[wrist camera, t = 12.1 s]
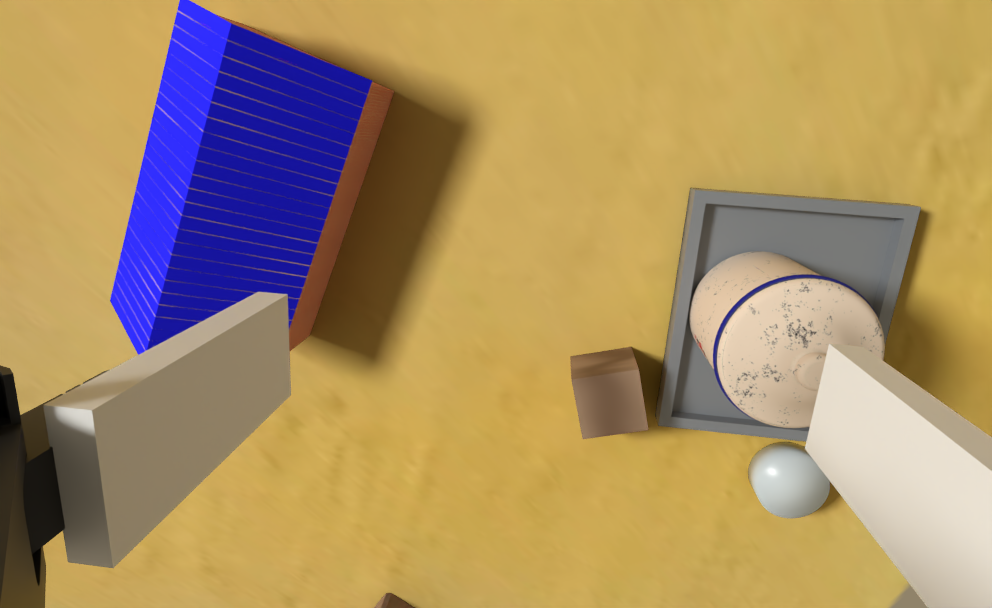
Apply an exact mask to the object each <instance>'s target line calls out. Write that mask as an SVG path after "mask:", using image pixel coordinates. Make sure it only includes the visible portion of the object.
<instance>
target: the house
mask: <svg viewBox="0 0 992 608" xmlns="http://www.w3.org/2000/svg"><path fill="white" fill-rule="evenodd" d="M393 94H394V91H393V90H390V89H388V88H386V87H384V86H381V85H379V84H377V83H375V82H372V80H369V79H367V78H365V77H362V76H360V75H357V74H355V73H352V72H350V71H348V70H345V69H343V68H341V67H338V66H336V65H334V64H332V63H329V62H327V61H325V60H323V59H320V58H318V57H316V56H314V55H311V54H309V53H307V52H305V51H302V50H300V49H298V48H296V47H293V46H291V45H289V44H286V43H284V42H282V41H280V40H277V39H275V38H273V37H271V36H268V35H266V34H264V33H262V32H259V31H257V30H255V29H253V28H250V27H248V26H246V25H244V24H241V23H238V22H235V21H233V20H230V19H227V18H224V17H221V16H218V15H215V14H213V13H211V12H210V11H208V10H206V9H204V8H202V7H200V6H198V5H197V4H195V3H193V2H191V1H189V0H180V2H179V6H178V11H177V15H176V19H175V23H174V28H173V32H172V36H171V41H170V45H169V49H168V54H167V58H166V62H165V67H164V71H163V75H162V80H161V84H160V88H159V92H158V97H157V101H156V105H155V110H154V114H153V118H152V123H151V127H150V131H149V136H148V140H147V144H146V149H145V153H144V157H143V161H142V166H141V170H140V174H139V179H138V183H137V187H136V192H135V196H134V200H133V205H132V209H131V213H130V218H129V222H128V226H127V230H126V235H125V239H124V243H123V248H122V252H121V256H120V261H119V265H118V269H117V274H116V278H115V282H114V287H113V291H112V295H111V300H110V301H111V303H112V305H113V307H114V309H115V311H116V313H117V315H118V317H119V319H120V320H121V322H122V324H123V326H124V328H125V330H126V332H127V334H128V336H129V338H130V340H131V342H132V343H133V345H134V347H135V349H136V351H137V353H138V355H139V354H141V353H143V352H145V351H147V350H149V349H151V348H152V347H154V346H156V345H158V344H160V343H162V342H164V341H166V340H168V339H170V338H171V337H173V336H175V335H177V334H179V333H181V332H183V331H185V330H187V329H188V328H190V327H192V326H194V325H196V324H198V323H200V322H202V321H204V320H206V319H207V318H209V317H211V316H213V315H215V314H217V313H219V312H221V311H223V310H225V309H226V308H228V307H230V306H232V305H234V304H236V303H238V302H240V301H242V300H244V299H245V298H247V297H249V296H251V295H253V294H255V293H257V292H267V293H278V294H288V321H289V351H291V350H292V349H293V348H295V347H296V346H297V345H298V344H300V343H301V342H302V341H303V340H305V339H306V338H307V337H308V336H310V333H311V330H312V328H313V325H314V322H315V319H316V316H317V313H318V310H319V307H320V305H321V302H322V299H323V296H324V293H325V290H326V287H327V284H328V281H329V279H330V276H331V273H332V270H333V267H334V264H335V261H336V258H337V256H338V253H339V250H340V247H341V244H342V241H343V238H344V235H345V233H346V230H347V227H348V224H349V221H350V218H351V215H352V212H353V209H354V207H355V204H356V201H357V198H358V195H359V192H360V189H361V186H362V184H363V181H364V178H365V175H366V172H367V169H368V166H369V163H370V161H371V158H372V155H373V152H374V149H375V146H376V143H377V140H378V137H379V135H380V132H381V129H382V126H383V123H384V120H385V117H386V114H387V112H388V109H389V106H390V103H391V100H392V97H393Z"/></svg>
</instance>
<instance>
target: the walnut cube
mask: <svg viewBox="0 0 992 608" xmlns="http://www.w3.org/2000/svg"><path fill="white" fill-rule="evenodd" d="M571 378H572V385H573V390H574V395H575V400H576V406H577V411H578V416H579V421H580V427H581V432H582V437H583V439H587V438H595V437H602V436H609V435H616V434H624V433H631V432H638V431H645V430H648V424H647V417H646V411H645V405H644V399H643V392H642V386H641V380H640V374H639V368H638V365H637V362H636V359H635V356H634V353H633V350H632V347H627V348H621V349H615V350H608V351H602V352H596V353H589V354H583V355H577V356H571Z"/></svg>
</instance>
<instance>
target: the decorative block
mask: <svg viewBox="0 0 992 608" xmlns="http://www.w3.org/2000/svg"><path fill="white" fill-rule="evenodd" d="M374 608H414V607H412V606H411V605H409V604H407V603H406V602H404V601H403V600H401V599H400V598H398V597H396V596H395V595H393V594H392V593H386V594H385V595H384V596H383V597H382V598H381V600H380V601H379V602H378V603H377V605H376V606H375V607H374Z"/></svg>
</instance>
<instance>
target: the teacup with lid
mask: <svg viewBox="0 0 992 608" xmlns="http://www.w3.org/2000/svg"><path fill="white" fill-rule="evenodd" d="M689 322H690V328H691V332H692V335H693V337H694V339H695V341H696V343H697V345H698V346H699V348H700V349H701V351H702V353H703V354H704V356H705V357H706V359H707V360H708V362H709V363H710V365H711V366H712V368H713V370H714V372H715V376H716V379H717V382H718V384H719V386H720V388H721V390H722V391H723V393H724V395H725V396H726V397H727V399H728V400H729V401H730V402H731V403H732V404H733V405H734V406H735V407H736V408H737V409H738V410H740V411H741V412H743V413H744V414H745V415H747V416H749V417H751V418H753V419H755V420H757V421H760V422H762V423H765V424H768V425H772V426H777V427H783V428H804V427H810V424H811V420H812V415H813V411H814V407H815V402H816V398H817V394H818V389H819V385H820V381H821V376H822V372H823V368H824V363H825V359H826V355H827V350H828V346H829V344H839V345H850V346H861V347H864V348H866V349H867V350H869V351H870V352H871V353H873V354H874V355H876V356H877V357H878V358H880V359H881V360H883V359H884V350H885V344H884V335H883V330H882V327H881V324H880V321H879V319H878V316H877V314H876V313H875V311H874V309H873V308H872V306H871V305H870V303H869V302H868V301H867V300H866V299H865V298H864V297H863V296H862V295H861V294H860V293H859V292H858V291H856V290H855V289H853V288H852V287H850V286H848V285H847V284H845V283H843V282H841V281H838V280H836V279H833V278H829V277H825V276H821V275H819V274H817V273H815V272H813V271H812V270H810V269H808V268H806V267H804V266H803V265H801V264H799V263H797V262H795V261H793V260H792V259H790V258H788V257H785V256H783V255H780V254H777V253H772V252H764V251H755V252H747V253H742V254H738V255H735V256H732V257H730V258H728V259H726V260H724V261H722V262H721V263H719V264H718V265H716V266H715V267H714V268H712V269H711V270H710V271H709V272H708V273H707V274H706V275H705V276H704V277H703V279H702V280H701V281H700V283H699V284H698V286H697V288H696V290H695V292H694V294H693V296H692V300H691V304H690V310H689Z"/></svg>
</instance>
